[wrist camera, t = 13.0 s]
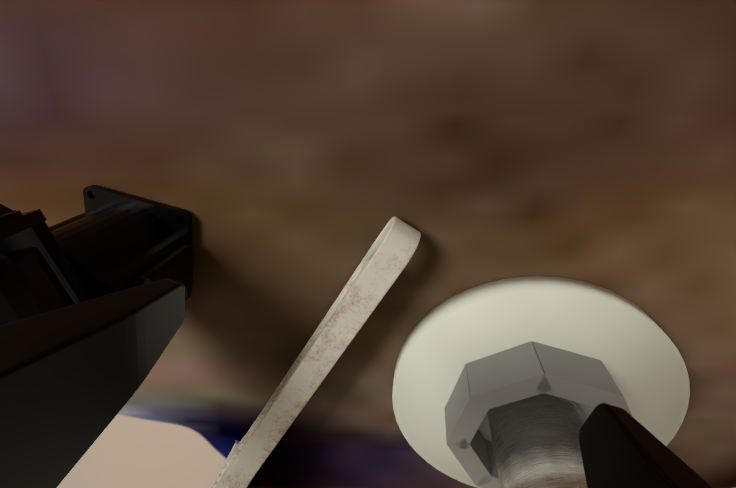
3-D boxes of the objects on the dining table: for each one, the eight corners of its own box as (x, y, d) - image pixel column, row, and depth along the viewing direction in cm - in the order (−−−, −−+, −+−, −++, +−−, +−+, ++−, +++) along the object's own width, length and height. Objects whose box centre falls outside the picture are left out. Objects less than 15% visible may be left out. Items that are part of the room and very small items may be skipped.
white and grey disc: (368, 437, 28) (360, 490, 24) (438, 241, 21) (441, 276, 17) (588, 500, 28) (612, 564, 24) (740, 324, 20) (809, 378, 17)
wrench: (418, 214, 23) (226, 491, 33) (394, 199, 23) (207, 481, 32) (428, 262, 16) (174, 604, 25) (392, 239, 15) (149, 593, 25)
